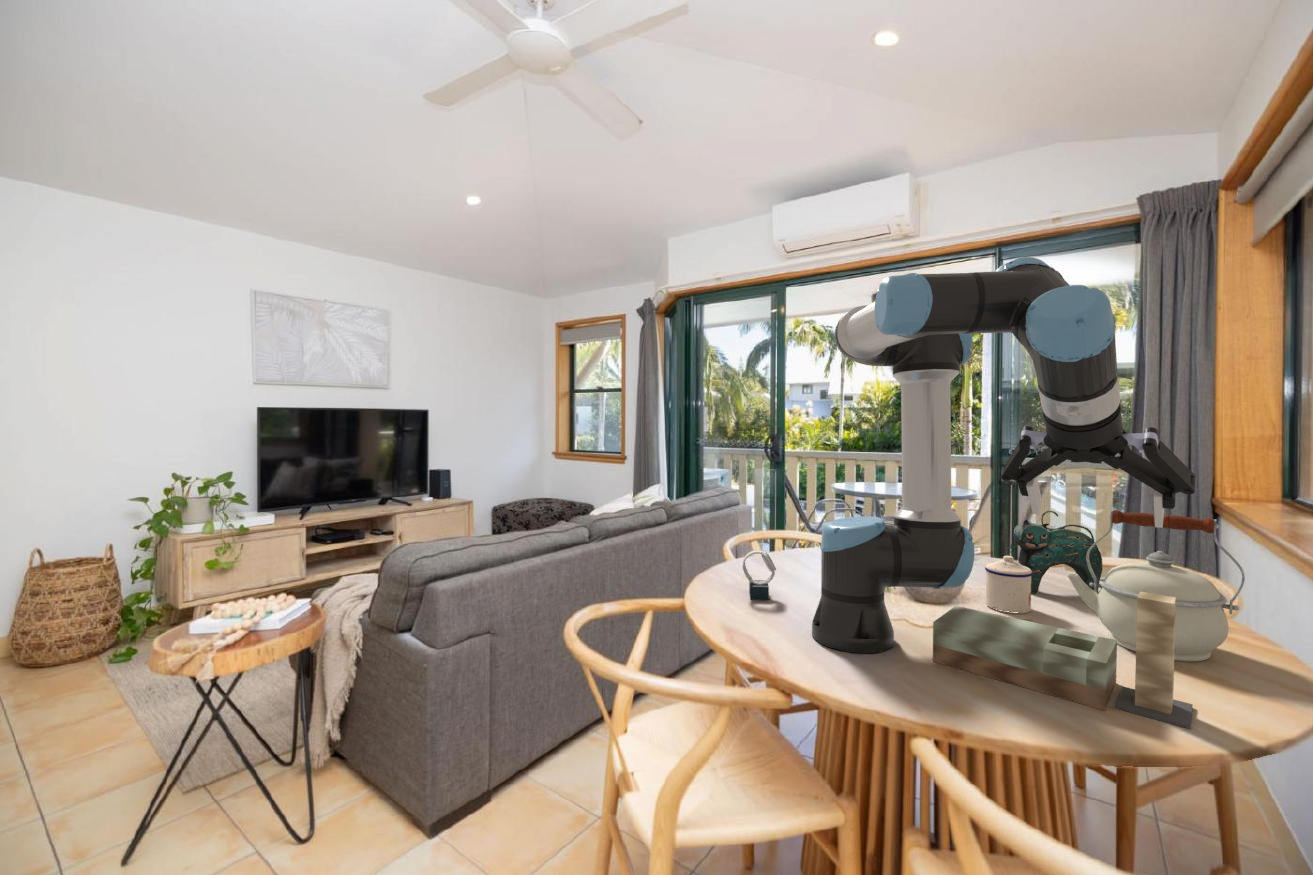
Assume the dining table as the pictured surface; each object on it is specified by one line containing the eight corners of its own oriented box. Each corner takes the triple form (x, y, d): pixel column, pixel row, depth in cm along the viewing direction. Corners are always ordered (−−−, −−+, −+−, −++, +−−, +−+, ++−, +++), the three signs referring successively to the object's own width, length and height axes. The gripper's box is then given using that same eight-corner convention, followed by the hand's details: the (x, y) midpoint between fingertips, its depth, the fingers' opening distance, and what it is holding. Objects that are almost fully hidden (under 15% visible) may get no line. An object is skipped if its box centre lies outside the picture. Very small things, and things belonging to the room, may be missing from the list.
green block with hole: (932, 661, 100) (933, 622, 99) (955, 641, 108) (955, 605, 108) (1105, 710, 83) (1106, 663, 82) (1116, 683, 91) (1117, 640, 91)
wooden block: (1134, 704, 83) (1137, 597, 83) (1137, 695, 86) (1140, 591, 85) (1171, 714, 80) (1174, 603, 80) (1173, 704, 83) (1175, 597, 83)
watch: (777, 600, 133) (777, 554, 133) (742, 599, 134) (742, 553, 134) (775, 593, 139) (775, 548, 138) (742, 592, 140) (741, 548, 139)
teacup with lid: (1041, 615, 122) (1042, 561, 122) (997, 614, 123) (998, 561, 122) (1010, 597, 134) (1011, 548, 134) (970, 596, 135) (971, 548, 134)
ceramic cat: (1022, 594, 136) (1023, 512, 135) (1006, 586, 143) (1007, 508, 142) (1106, 595, 135) (1108, 512, 135) (1087, 587, 142) (1088, 508, 141)
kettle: (1240, 648, 104) (1244, 514, 103) (1243, 681, 91) (1248, 528, 90) (1073, 615, 122) (1076, 500, 121) (1056, 639, 109) (1059, 511, 108)
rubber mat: (1115, 708, 83) (1115, 704, 83) (1122, 689, 89) (1122, 686, 89) (1190, 728, 78) (1190, 725, 78) (1192, 707, 83) (1192, 704, 83)
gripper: (959, 427, 75) (989, 521, 86) (1226, 431, 57) (1219, 550, 69) (972, 387, 78) (999, 483, 90) (1228, 380, 61) (1221, 501, 72)
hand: (1094, 512), depth 79 cm, fingers open, 13 cm apart
